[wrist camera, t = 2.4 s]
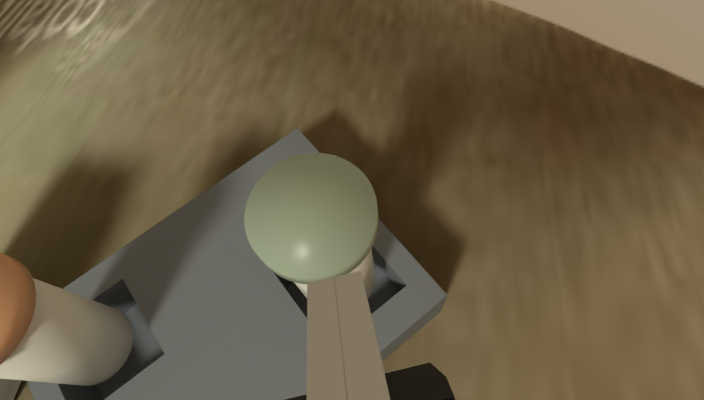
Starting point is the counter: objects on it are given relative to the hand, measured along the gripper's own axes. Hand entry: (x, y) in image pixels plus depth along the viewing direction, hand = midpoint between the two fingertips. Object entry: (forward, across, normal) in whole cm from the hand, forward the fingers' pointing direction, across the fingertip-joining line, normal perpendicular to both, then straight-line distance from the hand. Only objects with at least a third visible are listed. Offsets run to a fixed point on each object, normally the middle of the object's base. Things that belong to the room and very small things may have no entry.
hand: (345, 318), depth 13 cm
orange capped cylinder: (+14, -16, -7) cm, 22 cm away
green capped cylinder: (+14, -1, -6) cm, 16 cm away
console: (+18, -8, -10) cm, 22 cm away
